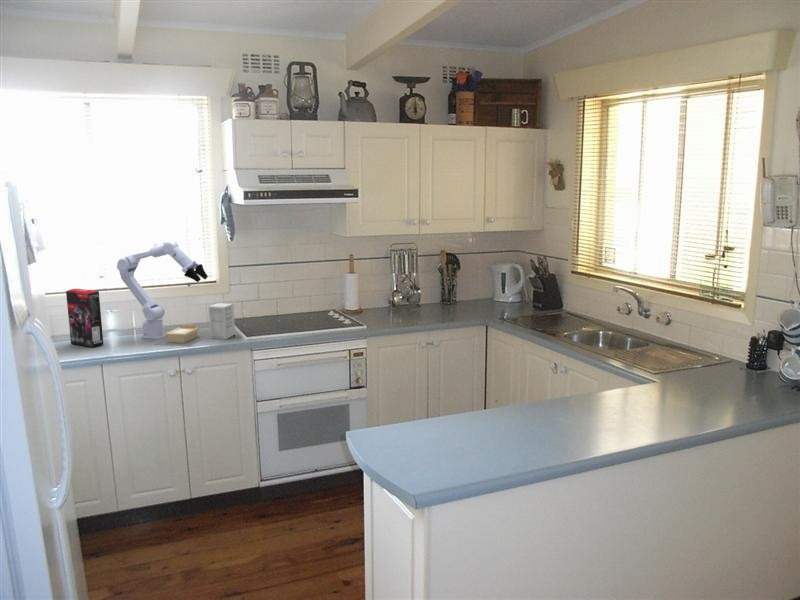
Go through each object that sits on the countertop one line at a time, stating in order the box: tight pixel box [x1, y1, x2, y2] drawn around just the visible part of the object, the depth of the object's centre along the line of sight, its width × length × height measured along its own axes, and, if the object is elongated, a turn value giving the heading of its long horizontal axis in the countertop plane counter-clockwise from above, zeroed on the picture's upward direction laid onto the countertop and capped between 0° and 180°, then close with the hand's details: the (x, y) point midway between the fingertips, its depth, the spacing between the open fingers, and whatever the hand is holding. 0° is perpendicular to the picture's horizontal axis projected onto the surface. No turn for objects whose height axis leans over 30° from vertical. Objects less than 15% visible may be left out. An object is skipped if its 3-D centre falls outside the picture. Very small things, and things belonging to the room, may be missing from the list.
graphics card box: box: [65, 288, 104, 348], centre depth 327 cm, size 17×7×27 cm, turn 62°
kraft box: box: [166, 331, 199, 343], centre depth 336 cm, size 9×14×4 cm, turn 169°
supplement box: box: [208, 302, 236, 340], centre depth 341 cm, size 10×9×17 cm
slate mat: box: [153, 334, 210, 347], centre depth 335 cm, size 19×22×1 cm
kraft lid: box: [165, 323, 199, 337], centre depth 335 cm, size 10×14×3 cm
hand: (203, 279), depth 333 cm, fingers open, 7 cm apart
